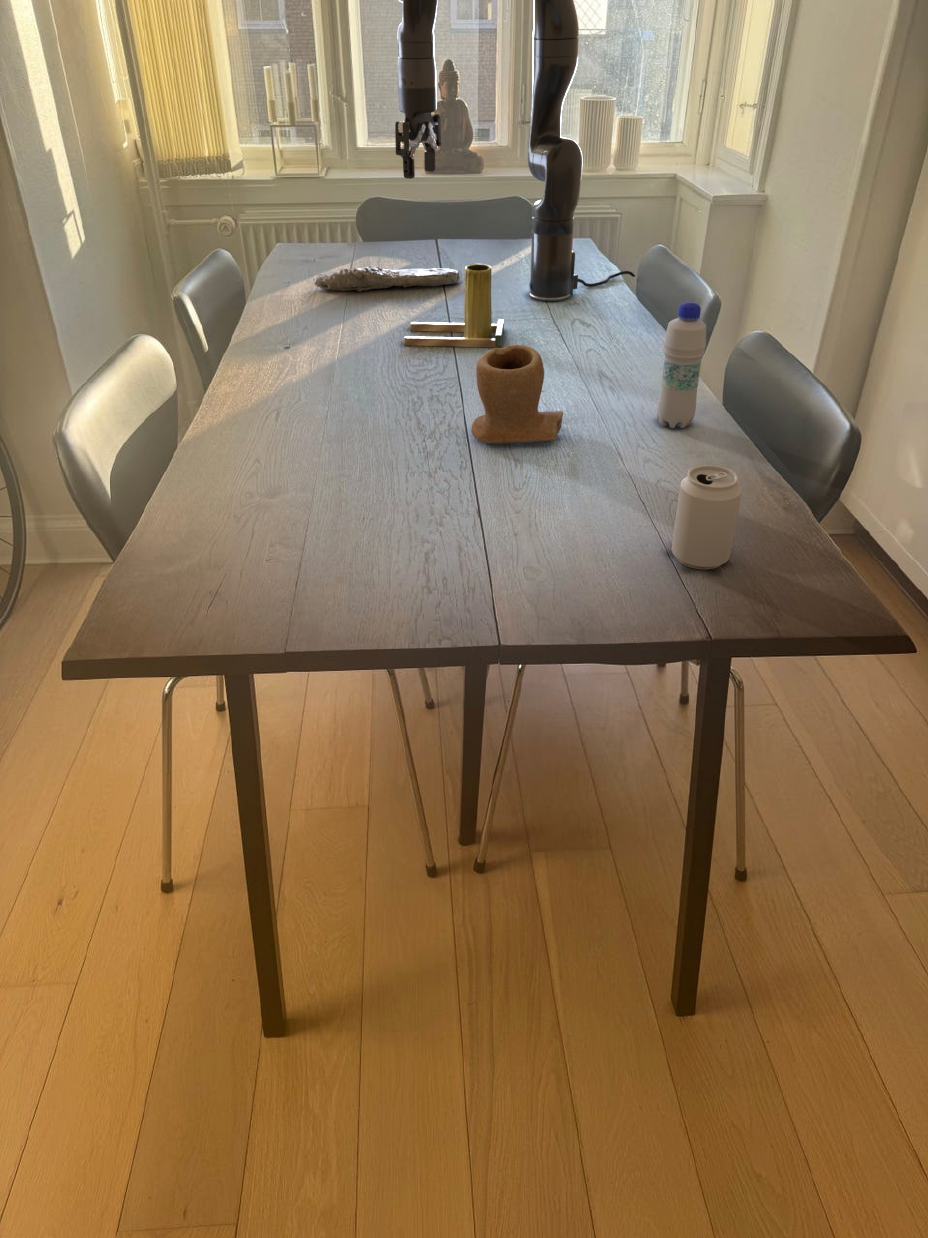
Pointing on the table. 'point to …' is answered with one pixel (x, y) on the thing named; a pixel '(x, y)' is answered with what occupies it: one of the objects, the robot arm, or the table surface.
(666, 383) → the bottle
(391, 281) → the long grey stone
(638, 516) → the table surface
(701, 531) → the can
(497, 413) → the clay pipe
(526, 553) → the table surface
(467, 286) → the vase
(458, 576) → the table surface
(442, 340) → the u-shaped frame
